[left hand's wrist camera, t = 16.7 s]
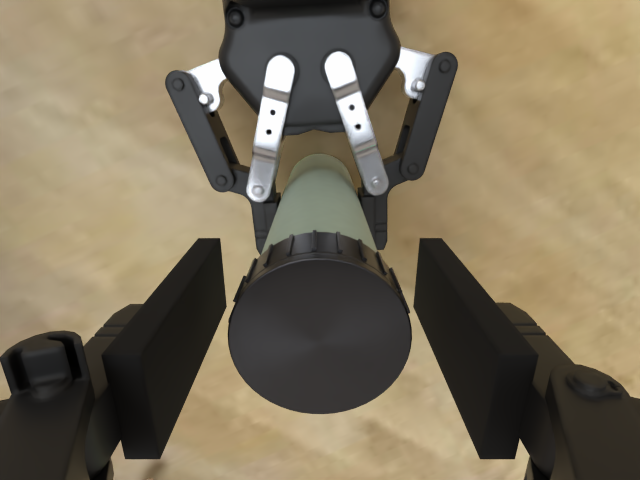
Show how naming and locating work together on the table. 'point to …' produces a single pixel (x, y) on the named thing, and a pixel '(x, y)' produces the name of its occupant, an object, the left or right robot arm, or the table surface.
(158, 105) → the table surface
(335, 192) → the jar
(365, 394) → the lid
